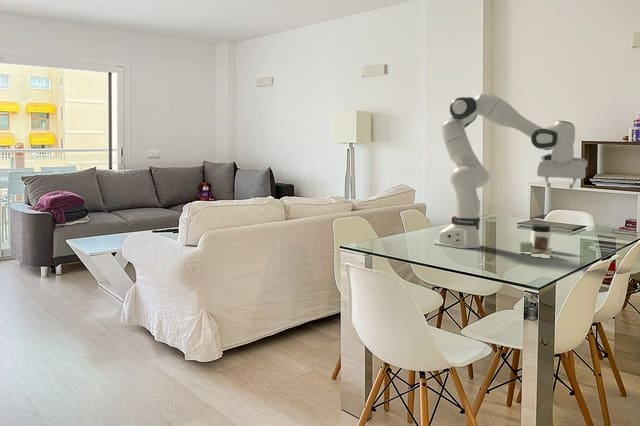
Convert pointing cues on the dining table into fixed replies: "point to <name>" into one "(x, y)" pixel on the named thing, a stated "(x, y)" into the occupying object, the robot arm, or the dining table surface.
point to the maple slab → (540, 251)
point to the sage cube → (525, 246)
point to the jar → (540, 233)
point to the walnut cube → (541, 243)
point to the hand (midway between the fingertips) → (559, 187)
